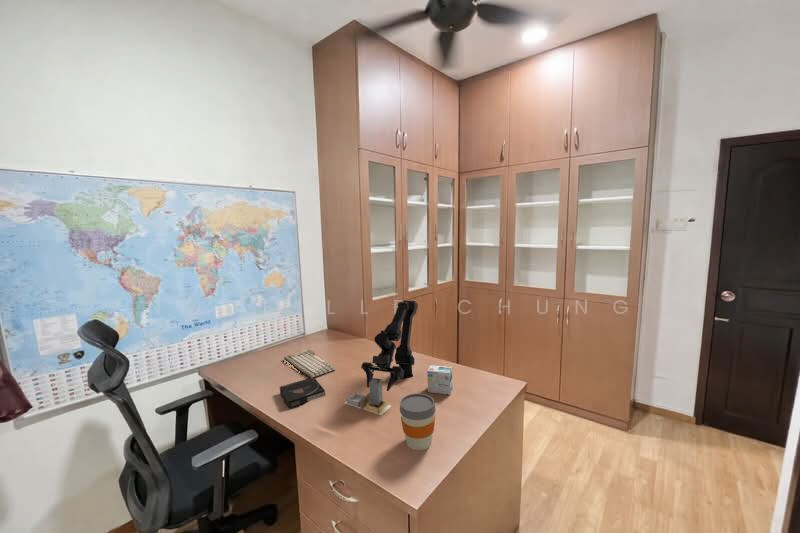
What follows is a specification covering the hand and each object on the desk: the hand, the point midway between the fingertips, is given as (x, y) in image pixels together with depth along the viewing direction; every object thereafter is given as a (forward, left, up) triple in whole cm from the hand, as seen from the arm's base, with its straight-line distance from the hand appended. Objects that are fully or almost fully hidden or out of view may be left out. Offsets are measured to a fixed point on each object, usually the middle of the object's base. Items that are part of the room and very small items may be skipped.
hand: (377, 389), depth 136 cm
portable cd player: (+33, -21, -9) cm, 40 cm away
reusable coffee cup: (-11, +25, -9) cm, 29 cm away
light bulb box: (-30, -7, -9) cm, 32 cm away
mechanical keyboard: (+32, -56, -9) cm, 65 cm away
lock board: (+5, -2, -9) cm, 10 cm away
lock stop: (+1, +1, -8) cm, 8 cm away
